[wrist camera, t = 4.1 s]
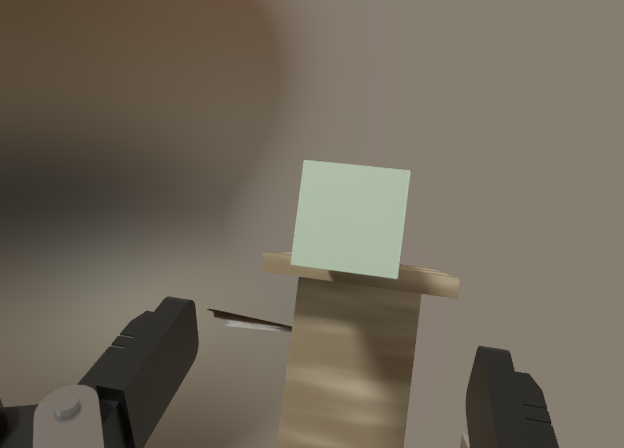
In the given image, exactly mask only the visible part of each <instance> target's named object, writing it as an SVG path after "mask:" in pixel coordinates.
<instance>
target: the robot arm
mask: <svg viewBox="0 0 624 448" xmlns="http://www.w3.org/2000/svg"><path fill="white" fill-rule="evenodd" d="M198 343H199V341H198V330H197V319H196V310H195V303H194V301H192V300H188V299H181V298H175V297H166V298H165V299H164V300H163V301H162V303H161V304H160V305H159V306H158V307H157V309H156V310H155V311H154V312H150V311H146V312H144V313H143V314H141V315H140V316H138V317H136V318H135V319H133V320H132V321H131V322H130V323H129V324H128V325H127V326H126V327H125V329H124V330H123V331H122V332H121V333H120V336H118V337H117V338H116V339H115V341H114V342H113V343H112V345H111V347H109V348H108V349H107V350H106V351H105V353H103V355H102V356H101V357H100V358H99V359H98V361H97V362H96V363H95V364H94V366H93V367H92V368H91V369H90V370H89V371H88V372H87V374H86V375H85V376H84V377H83V378H82V380H81V381H80V382H79V383H78V384H77V385H71V386H67V387H63V388H60V389H58V390H56V391H54V392H53V393H51V394H49V395H48V396H47V397H45V398H44V399H43V400H42V401H41V402H40V404H38V405H28V406H16V407H3V405H2V402H1V400H0V448H143V447H144V446H145V444H146V442H147V440H148V439H149V437H150V435H151V434H152V432H153V430H154V429H155V427H156V425H157V424H158V422H159V420H160V418H161V417H162V415H163V413H164V412H165V410H166V408H167V406H168V405H169V403H170V402H171V400H172V398H173V396H174V395H175V393H176V391H177V390H178V388H179V386H180V384H181V383H182V381H183V379H184V378H185V376H186V374H187V373H188V371H189V369H190V368H191V366H192V364H193V362H194V360H195V358H196V355H197V351H198ZM466 417H467V427H468V436H469V446H470V448H559V447H558V443H557V439H556V436H555V433H554V429H553V426H551V419H550V416H549V412H548V411H547V406H546V403H545V399H544V395H543V392H542V390H541V388H540V387H539V386H538V385H537V383H536V382H535V381H534V380H533V378H532V377H531V376H530V375H529V374H527V373H521V372H515V371H514V367H513V363H512V358H511V354H510V352H509V351H508V350H503V349H497V348H490V347H484V346H479V347H478V349H477V352H476V356H475V360H474V364H473V368H472V372H471V376H470V380H469V384H468V388H467V395H466Z"/></svg>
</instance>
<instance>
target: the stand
mask: <svg viewBox="0 0 624 448" xmlns="http://www.w3.org/2000/svg"><path fill="white" fill-rule="evenodd" d="M291 257H292V253H278V252H276V253H274V252H272V253H270V252H268V253H267V252H264V255H263V262H262V270H261V271H263V272H270V273H277V274H284V275H291V276H298V277H299V280H298V289H297V295H296V303H295V311H294V319H293V326H292V334H291V343H290V350H289V358H288V365H287V374H286V381H285V389H284V397H283V404H282V412H281V421H280V428H279V436H278V443H277V448H403V446H404V437H405V429H406V420H407V412H408V403H409V395H410V386H411V377H412V369H413V361H414V352H415V344H416V335H417V327H418V319H419V310H420V301H421V294H428V295H435V296H442V297H449V298H456V299H457V297H458V289H459V280H460V279H459V278H457V277H454V276H451V275H448V274H445V273H442V272H439V271H436V270H433V269H430V268H423V267H416V266H408V265H401V264H399V271H398V279H393V278H386V277H378V276H371V275H364V274H356V273H349V272H342V271H334V270H327V269H320V268H312V267H305V266H297V265H290V264H291Z"/></svg>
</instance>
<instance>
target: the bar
mask: <svg viewBox="0 0 624 448" xmlns="http://www.w3.org/2000/svg"><path fill="white" fill-rule="evenodd" d="M409 179H410V170H400V169H390V168H380V167H370V166H360V165H350V164H340V163H329V162H320V161H310V160H304V164H303V172H302V180H301V187H300V195H299V202H298V210H297V218H296V226H295V234H294V241H293V250H292V257H291V264H290V265H297V266H305V267H312V268H320V269H327V270H334V271H342V272H349V273H356V274H364V275H371V276H378V277H386V278H393V279H398V271H399V263H400V254H401V246H402V238H403V229H404V221H405V212H406V204H407V196H408V187H409Z"/></svg>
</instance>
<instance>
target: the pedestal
mask: <svg viewBox="0 0 624 448" xmlns="http://www.w3.org/2000/svg"><path fill="white" fill-rule="evenodd" d="M460 448H470V446H469V436H468V434H464V433H462V437H461V447H460Z"/></svg>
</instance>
